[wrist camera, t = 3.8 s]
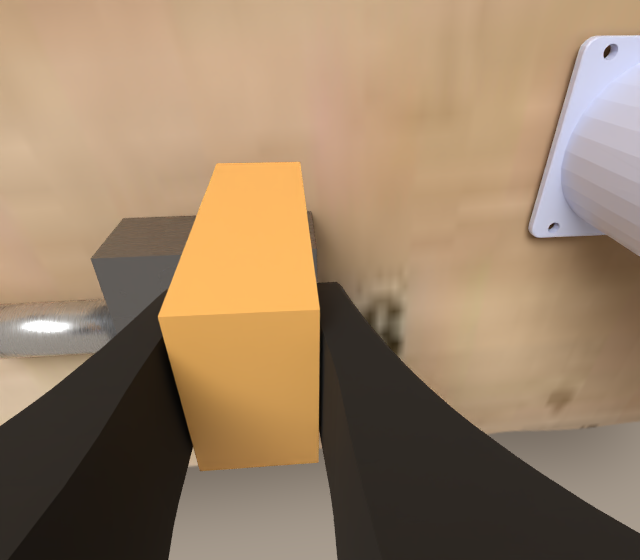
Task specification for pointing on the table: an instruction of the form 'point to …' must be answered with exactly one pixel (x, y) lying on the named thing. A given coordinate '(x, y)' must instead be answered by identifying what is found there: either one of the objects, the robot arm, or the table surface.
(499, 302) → the table surface
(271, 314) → the tall orange cuboid
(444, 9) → the table surface
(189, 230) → the grey peg hole fixture
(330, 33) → the table surface
